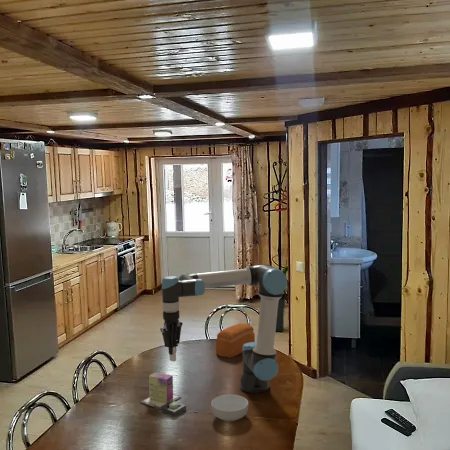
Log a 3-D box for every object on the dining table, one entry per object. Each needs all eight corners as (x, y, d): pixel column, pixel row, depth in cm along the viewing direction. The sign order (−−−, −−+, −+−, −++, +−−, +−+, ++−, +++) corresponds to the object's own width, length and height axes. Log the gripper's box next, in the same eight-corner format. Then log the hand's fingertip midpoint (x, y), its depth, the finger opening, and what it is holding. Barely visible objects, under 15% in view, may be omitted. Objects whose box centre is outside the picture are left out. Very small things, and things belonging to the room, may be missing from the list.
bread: (213, 354, 298) (213, 329, 296) (239, 342, 318) (239, 319, 317) (231, 359, 289) (230, 333, 288) (256, 347, 309) (256, 322, 308)
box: (173, 398, 236) (172, 375, 235) (167, 403, 231) (166, 379, 230) (156, 394, 241) (155, 371, 240) (149, 399, 236) (148, 376, 235)
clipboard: (181, 397, 239) (181, 395, 238) (159, 410, 226) (159, 407, 226) (162, 391, 246) (161, 389, 246) (140, 403, 234) (140, 400, 234)
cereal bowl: (236, 430, 206) (235, 414, 206) (204, 420, 215) (203, 405, 215) (255, 413, 221) (254, 398, 220) (224, 405, 230) (224, 391, 229)
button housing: (186, 410, 226) (186, 405, 225) (174, 417, 219) (174, 412, 219) (173, 405, 230) (173, 400, 230) (161, 412, 224) (161, 407, 224)
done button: (180, 408, 225) (180, 403, 225) (174, 412, 222) (174, 407, 221) (173, 406, 228) (173, 401, 227) (167, 409, 224) (167, 404, 224)
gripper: (174, 306, 228) (176, 354, 230) (155, 312, 218) (157, 363, 220) (186, 308, 224) (188, 357, 226) (167, 314, 213) (169, 366, 215)
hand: (172, 360), depth 223 cm, fingers closed
